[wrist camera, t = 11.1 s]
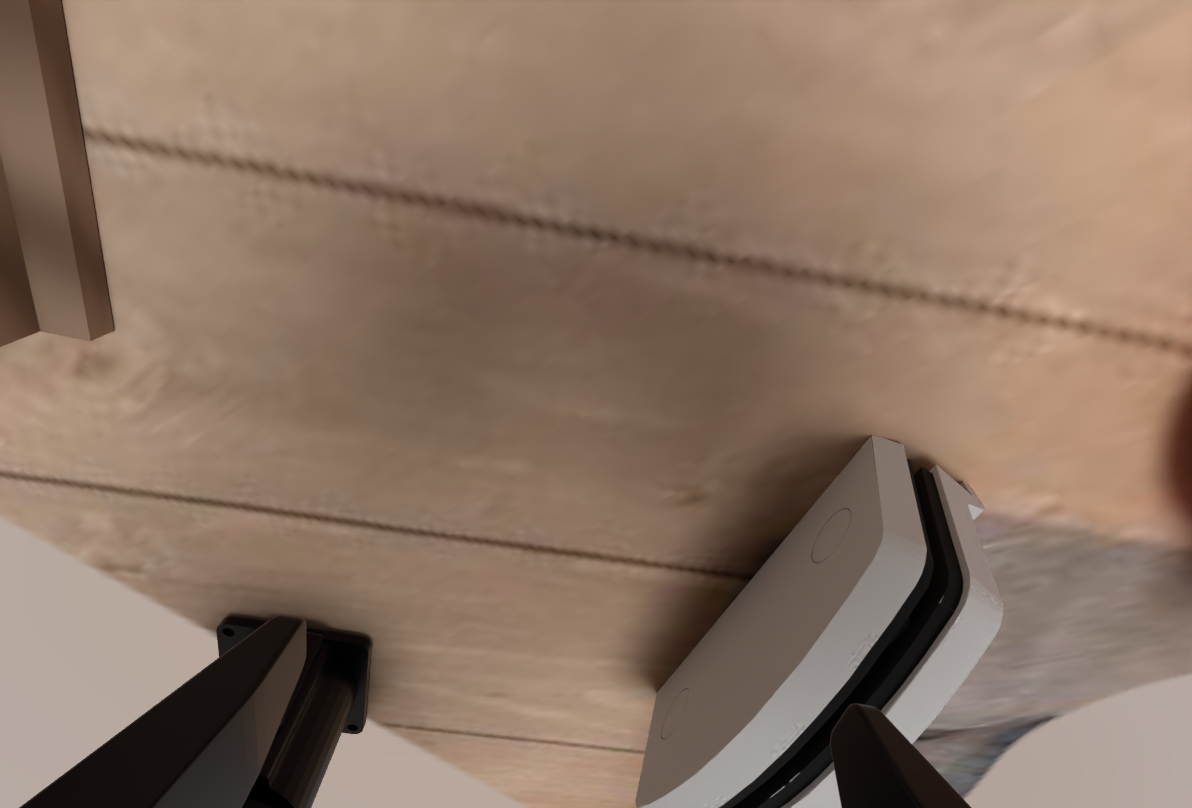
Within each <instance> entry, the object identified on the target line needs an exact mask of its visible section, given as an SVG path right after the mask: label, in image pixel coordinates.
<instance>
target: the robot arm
mask: <svg viewBox="0 0 1192 808" xmlns="http://www.w3.org/2000/svg"><path fill="white" fill-rule="evenodd" d="M217 639H218V649H219V658H218V659H217V660H215V661H214V662H213V663H211V664H210V665H209V666H207V667H206V668H205V669H203V670H202V671H201V672H199V673H198V674H197V675H195V676H194V677H193V678H191V679H190V680H189V681H187V682H186V683H185V684H183V685H182V686H181V687H179V688H178V689H177V690H175V691H174V692H173V693H171V694H170V695H169V696H167V697H166V698H165V699H163V700H162V701H161V702H159V703H158V704H157V705H155V706H154V707H153V708H152V709H150V710H149V711H147V712H146V713H145V714H144V715H142V716H141V717H139V718H138V719H137V720H135V721H134V722H133V723H131V724H130V725H129V726H127V727H126V728H125V729H123V730H122V731H121V732H119V733H118V734H117V735H115V736H114V737H113V738H111V739H110V740H109V741H108V742H106V743H105V744H103V745H102V746H101V747H100V748H98V749H97V750H95V751H94V752H93V753H91V754H90V755H89V756H87V757H86V758H85V759H83V760H82V761H81V762H80V763H78V764H77V765H75V766H74V767H73V768H71V769H70V770H69V771H67V772H66V773H65V774H64V775H62V776H61V777H59V778H58V779H57V780H55V781H54V782H53V783H51V784H50V785H49V786H48V787H46V788H45V789H43V790H42V791H41V792H40V793H38V794H37V795H36V796H34V797H33V798H32V799H30V800H29V801H28V802H26V803H25V804H24V805H22V806H21V807H20V808H311V807H312V804H313V802H314V799H315V797H316V794H317V792H318V789H319V787H320V784H321V782H322V779H323V777H324V775H325V772H326V770H327V767H328V764H329V762H330V760H331V758H332V755H333V753H334V750H335V747H336V745H337V743H338V740H339V738H340V735H341V733H350V734H358V733H360V732H362V730H363V728H364V725H365V722H366V714H367V701H368V688H369V675H370V661H371V648H372V645H371V642H370V641H369V640H368V639H366V638H364V637H360V636H354V635H347V634H341V633H334V632H328V631H321V630H315V629H308V628H306V621H305V619H304V618H301V617H296V616H289V615H277V616H274V617H273V618H271V619H270V620H268V621H267V622H262V621H256V620H249V619H243V618H236V617H227V618H224V619H223V620H222V622H221V623H220V624H219V626H218V627H217ZM830 747H831V753H832V759H833V764H834V770H835V775H836V780H837V786H838V791H839V797H840V802H841V808H971V807H970V806H969V805H968V804H967V803H966V802H965V800H964V799H963V798H962V797H961V796H960V795H959V794H958V793H957V792H956V791H955V790H954V789H953V788H952V787H951V785H950V784H949V783H948V782H947V781H946V780H945V779H944V778H943V777H942V776H941V775H940V774H939V773H938V772H937V771H936V769H935V768H934V767H933V766H932V765H931V764H930V763H929V762H928V761H927V760H926V759H925V758H924V757H923V756H922V754H921V753H920V752H919V751H918V750H917V749H916V748H915V747H914V746H913V745H912V744H911V743H910V742H909V741H908V740H907V738H906V737H905V736H904V735H903V734H902V733H901V732H900V731H899V730H898V729H897V728H896V727H895V726H894V725H893V723H892V722H891V721H890V720H889V719H888V718H887V717H886V716H885V715H884V714H883V713H882V712H881V711H880V710H879V709H878V708H876V707H874V706H870V705H863V704H857V703H853V704H851V705H849V706H848V708H847V709H846V711H845V712H844V714H843V715H842V717H841V718H840V720H839V721H838V723H837V724H836V726H835V727H834V729H833V730H832V733H831V737H830Z"/></svg>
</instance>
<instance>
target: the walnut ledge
mask: <svg viewBox="0 0 1192 808" xmlns="http://www.w3.org/2000/svg"><path fill="white" fill-rule="evenodd" d="M39 331H42V332H47V333H53V334H58V335H63V336H68V337H73V338H78V339H83V340H88V341H92V340H94V339H96V338H99V337H101V336H103V335H105V334H107V333H110V332H112V331H114V326H113V320H112V314H111V308H110V302H109V295H108V289H107V283H106V277H105V271H104V265H103V258H102V252H101V246H100V240H99V234H98V227H97V221H96V215H95V209H94V203H93V196H92V190H91V184H90V178H89V172H88V165H87V159H86V153H85V147H84V141H83V135H82V128H81V122H80V116H79V110H78V104H77V97H76V91H75V85H74V79H73V73H72V66H71V60H70V54H69V48H68V42H67V36H66V29H65V23H64V17H63V11H62V5H61V0H0V347H1V346H4V345H6V344H9V343H11V342H14V341H16V340H19V339H21V338H24V337H26V336H29V335H32V334H34V333H37V332H39Z"/></svg>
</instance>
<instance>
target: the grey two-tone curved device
mask: <svg viewBox="0 0 1192 808" xmlns="http://www.w3.org/2000/svg"><path fill="white" fill-rule="evenodd" d="M984 509H985V508H984V505H983V504H982V502H981V501H980V499H979V498H978V497H977V495H976V494H975V492H974V491H973V489H972V488H971V487H970V486H968V485H967V484H966V483H965V482H963V481H962V483H961V484H960V485H959V484H958V483H957V482H956V481H955V480H954V479H953V478H951V477H950V476H949V475H948V474H947V473H946V472H945V471H943V470H942V469H941V468H940V467H939V466H938V465H936V464H935V466H934V467H933V468H932V469H931V470H930V471H927V470H926V469H924V468H922V467H921V468H920V469H919V470H918V471H917V472H916V474H915V475H913V471H912V467H911V462H910V460H909V459H907V458H906V454H905V449H904V445H902V444H900V443H897V442H894V441H891V440H889V439H886V438H882V437H878V436H873V435H871V436H870V437H869V439H868V440H867V441H866V442H865V443H864V445H863V446H862V447H861V448H860V449H859V451H858V452H857V453H856V454H855V456H854V457H853V458H852V459H851V460H850V462H849V463H848V464H847V465H846V466H845V468H844V469H843V470H842V471H841V472H840V474H839V475H838V476H837V477H836V478H835V480H834V481H833V482H832V483H831V484H830V486H829V487H828V488H827V489H826V490H825V492H824V493H823V494H822V495H821V496H820V498H819V499H818V500H817V501H816V502H815V504H814V505H813V506H812V507H811V508H810V510H809V511H808V512H807V513H806V514H805V516H804V517H803V518H802V519H801V520H800V522H799V523H798V524H797V525H796V526H795V528H794V529H793V530H792V531H791V532H790V534H789V535H788V536H787V537H786V538H785V540H784V541H783V542H782V543H781V544H780V546H779V547H778V548H777V549H776V550H775V552H774V553H773V554H772V555H771V556H770V558H769V559H768V560H767V561H766V562H765V564H764V565H763V566H762V567H761V568H760V570H759V571H758V572H757V573H756V574H755V576H754V577H753V578H752V579H751V580H750V582H749V583H748V584H747V585H746V586H745V588H744V589H743V590H742V591H741V592H740V594H739V595H738V596H737V597H736V598H735V600H734V601H733V602H732V603H731V604H730V606H729V607H728V608H727V609H726V610H725V612H724V613H723V614H722V615H721V616H720V618H719V619H718V620H717V621H716V622H715V624H714V625H713V626H712V627H711V628H710V630H709V631H708V632H707V633H706V634H705V636H704V637H703V638H702V639H701V640H700V642H699V643H698V644H697V645H696V646H695V648H694V649H693V650H692V651H691V652H690V654H689V655H688V656H687V657H686V658H685V660H684V661H683V662H682V663H681V664H680V666H679V667H678V668H677V669H676V670H675V672H674V673H673V674H672V675H671V676H670V678H669V679H668V680H667V681H666V682H665V684H664V685H663V686H662V687H661V688H660V690H659V691H658V692H657V695H656V700H655V705H654V710H653V715H652V721H651V726H650V731H649V736H648V741H647V746H646V751H645V756H644V761H643V766H642V771H641V776H640V781H639V786H638V791H637V796H636V806H637V808H841V802H840V797H839V791H838V786H837V780H836V775H835V770H834V764H833V759H832V753H831V747H830V737H831V733H832V730H833V729H834V727H835V726H836V724H837V723H838V721H839V720H840V718H841V717H842V715H843V714H844V712H845V711H846V709H847V708H848V706H849V705H851V704H853V703H857V704H863V705H870V706H874V707H876V708H878V709H879V710H880V711H881V712H882V713H883V714H884V715H885V716H886V717H887V718H888V719H889V720H890V721H891V722H892V723H893V725H894V726H895V727H896V728H897V729H898V730H899V731H900V732H901V733H902V734H903V735H904V736H905V737H906V738H907V740H908V741H909V742H910V743H911V744H913V743H914V742H915V740H916V739H917V738H918V737H919V736H920V735H921V734H922V732H923V731H924V730H925V729H926V728H927V727H928V726H929V725H930V723H931V722H932V721H933V720H934V719H935V718H936V717H937V715H938V714H939V713H940V712H941V710H942V709H943V708H944V706H945V705H946V704H947V702H948V701H949V700H950V698H951V697H952V696H953V695H954V693H955V692H956V691H957V689H958V688H959V687H960V685H961V684H962V683H963V681H964V680H965V679H966V678H967V676H968V675H969V673H970V672H971V670H972V669H973V668H974V666H975V665H976V663H977V662H978V660H979V659H980V658H981V656H982V655H983V653H984V652H985V650H986V649H987V647H988V646H989V645H990V643H991V642H992V640H993V639H994V637H995V636H996V634H997V632H998V630H999V628H1000V626H1001V621H1002V616H1003V603H1002V600H1001V597H1000V594H999V591H998V589H997V586H996V583H995V580H994V577H993V574H992V572H991V569H990V566H989V563H988V560H987V558H986V555H985V552H984V549H983V546H982V544H981V541H980V538H979V535H978V532H977V530H976V527H975V524H974V521H973V520H974V519H975V518H976V517H977V516H978V515H979V514H980V513H981V512H982V511H983V510H984Z"/></svg>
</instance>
